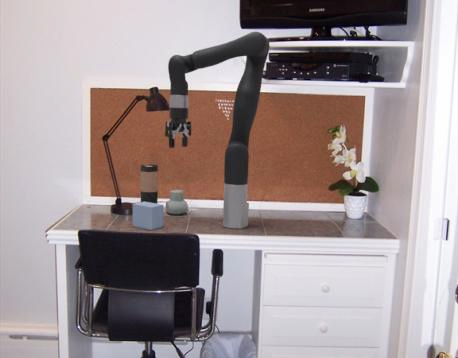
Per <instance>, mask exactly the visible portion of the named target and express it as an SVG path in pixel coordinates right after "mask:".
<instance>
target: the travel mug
mask: <svg viewBox="0 0 458 358" xmlns="http://www.w3.org/2000/svg"><path fill="white" fill-rule="evenodd" d="M158 194H159V167H158V164H151V163H150V164H147V165H144V164H141V165H140V202H150V203H156V204H158V197H159V196H158Z"/></svg>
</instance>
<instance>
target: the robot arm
mask: <svg viewBox="0 0 458 358" xmlns="http://www.w3.org/2000/svg"><path fill="white" fill-rule="evenodd" d="M269 44H270V40H269V39H268V38H267V36H266V35H264V34H263V33H262V32H260V31H252V32H249V33H247V34H245V35H243V36H240V37H237V38H236V39H234V40H231V41H228V42H225V43H221V44H218V45H214V46H210V47H206V48H201V49H198V50H196V51H193V52H192V53H190V54H186V55H180V54H175V55H172V56H171V57H169V60H168V64H167V66H168V68H167V69H168V70H167V71H168V75H169V76H168V77H169V82H170V88H169V89H170V90H169V92H170V96H169V119H171V121H167V120H166V121H165V129H164V130H165V131H164V136H165V137H166V138H168V146H169V148H170V149H174V148H175V146H176V144H175V140H176V135H178V133H179V134H181V136H182V137H181V146H182V147H185V148H187V147H188V144H189V143H188V141H189V137H191V136H192V121H190V120H188V119H189V83H188V81H187V80H186V74H189V73H192V72H195V71H197V70H201V69H205V68H210V67H214V66H216V65H220V64H222V63H224V62H226V61H229V60H231V59H235V58H239V57H246V60H245V65H244V70H243V74H242V76H241V79H240V81H239V83H238V85H237V88H236V91H235V96H234V97H235V98H234V102H233V109H232V127H231V133H230V135H229V140H228V143H227V147H226V149H225V152H224V165H223V166H224V169H223V170H224V171H223V173H224V174H223V176H224V177H223V180H224V181H223V209H222V210H223V211H222V216H223V218H222V226H223V227H225V228H228V229H239V230H241V229H245V228H247V227H249V213H250V209H249V208H250V202H248V185H249V184H248V183H249V182H248V181H249V180H248V179H249V162H250V161H249V158H250V155H249V142H250V135H251V130H252V126H253V125H254V121H255V118H256V115H257V111H258V106H259V102H260V96H261V88H262V84H263V83H262V82H263V74H264V70H265V69H264V68H265V66H266V63H267V59H268V56H269V52H270V47H271V45H269Z"/></svg>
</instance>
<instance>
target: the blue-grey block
mask: <svg viewBox="0 0 458 358" xmlns="http://www.w3.org/2000/svg"><path fill="white" fill-rule="evenodd" d="M132 226H136V227H141V228H146V229H151V230H150V231H153V230H152V229H155V230H157V229H156V228H158V229H160V228H159V227H161V228H164V227H163V226H164V204H161V203H157V204H156V203H150V202H141V201H140V202H136V203H132ZM136 227H135V228H136ZM141 228H140V229H141ZM146 229H145V230H146Z"/></svg>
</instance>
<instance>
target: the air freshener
mask: <svg viewBox="0 0 458 358" xmlns="http://www.w3.org/2000/svg"><path fill="white" fill-rule="evenodd" d="M169 193H170V194H169V200H167V201H166V203H165V210H166V212H167V213H169V215H177V216H179V215H183V214H185V213H187V212H188V210H189V205H188V203H187V201H186V200H185V198H184V196H185V193H184V190H181V189H172V190H170V192H169Z"/></svg>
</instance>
